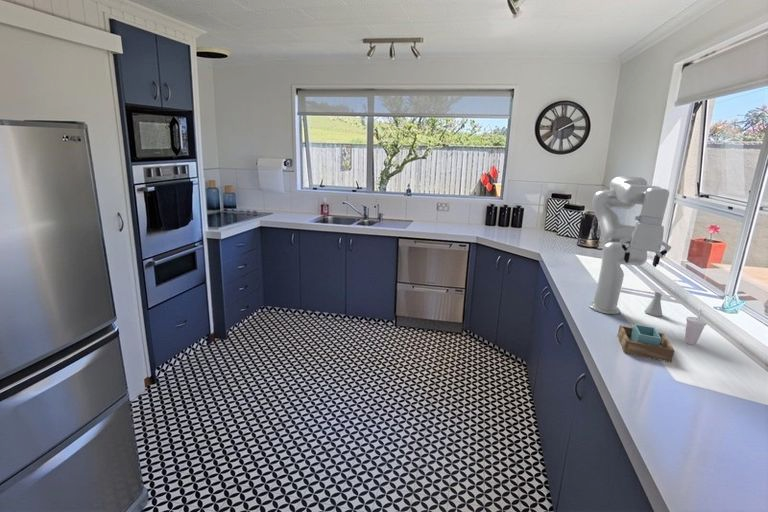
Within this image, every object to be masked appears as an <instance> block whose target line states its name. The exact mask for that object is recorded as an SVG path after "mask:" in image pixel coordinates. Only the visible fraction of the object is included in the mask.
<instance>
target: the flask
mask: <svg viewBox="0 0 768 512" xmlns="http://www.w3.org/2000/svg"><path fill="white" fill-rule="evenodd" d="M653 294H654V295H653V297H652V300H651V301H650V303H649V304H648V305H647V306H646V307H645V310H644V313H645V314H647V315H650V316H654V317H659V318H660V317H663V310H662V304H661V303H662V302H661V301H662V300H661V299H662V296H663V293H661V292H657V291H654V292H653Z"/></svg>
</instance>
